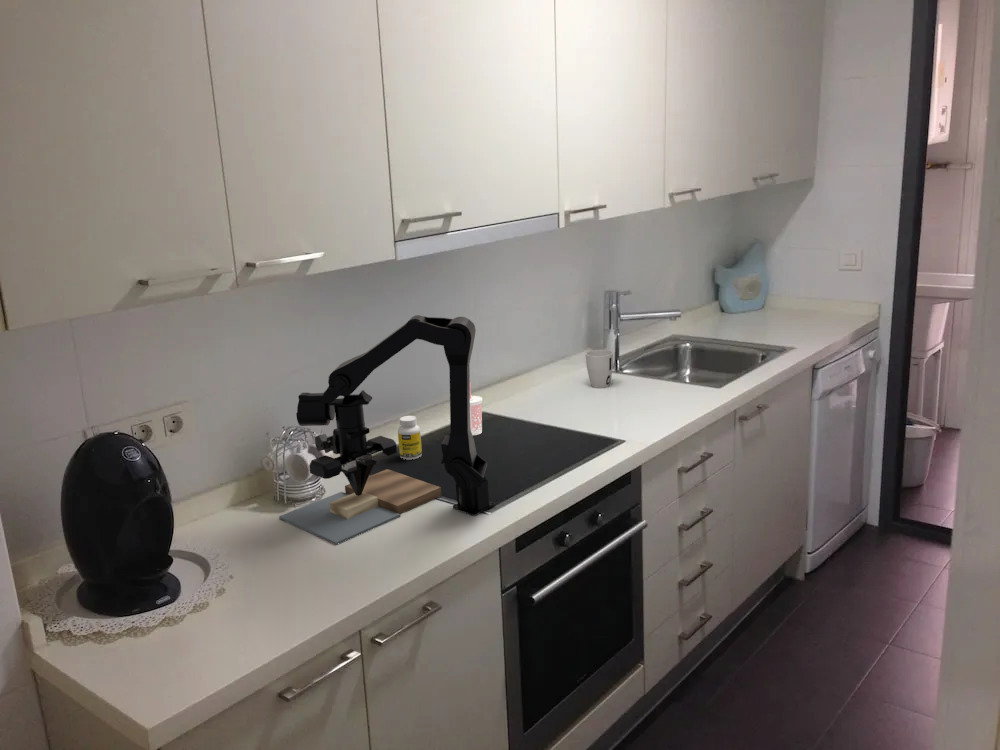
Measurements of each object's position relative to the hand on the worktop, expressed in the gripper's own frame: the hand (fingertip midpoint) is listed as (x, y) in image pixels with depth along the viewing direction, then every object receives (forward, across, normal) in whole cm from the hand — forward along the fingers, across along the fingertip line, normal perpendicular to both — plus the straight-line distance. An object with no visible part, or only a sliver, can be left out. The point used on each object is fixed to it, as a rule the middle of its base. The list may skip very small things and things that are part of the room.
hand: (358, 494), depth 188 cm
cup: (+4, -99, -13) cm, 100 cm away
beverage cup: (+4, -48, -15) cm, 50 cm away
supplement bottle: (+4, -27, -15) cm, 31 cm away
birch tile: (+2, +1, 0) cm, 2 cm away
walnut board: (+3, -9, 0) cm, 10 cm away
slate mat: (+3, +5, 0) cm, 6 cm away
